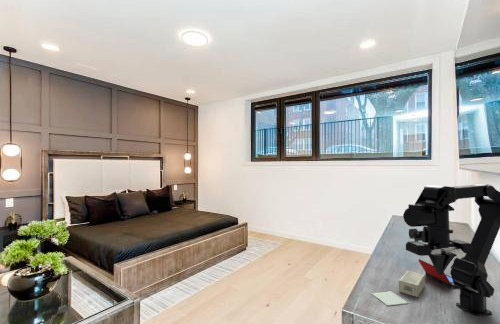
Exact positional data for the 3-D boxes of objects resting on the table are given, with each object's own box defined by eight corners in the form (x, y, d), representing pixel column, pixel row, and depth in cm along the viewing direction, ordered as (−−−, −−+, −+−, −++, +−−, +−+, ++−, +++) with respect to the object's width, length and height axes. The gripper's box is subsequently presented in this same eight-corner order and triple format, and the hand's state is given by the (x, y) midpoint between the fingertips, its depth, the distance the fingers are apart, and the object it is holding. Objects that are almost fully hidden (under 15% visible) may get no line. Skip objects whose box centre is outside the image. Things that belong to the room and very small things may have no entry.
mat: (390, 292, 92) (390, 291, 92) (408, 303, 84) (408, 302, 84) (371, 294, 90) (371, 293, 90) (387, 306, 82) (387, 305, 82)
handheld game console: (468, 288, 95) (468, 268, 95) (442, 289, 94) (442, 270, 94) (441, 274, 107) (440, 257, 107) (417, 275, 106) (417, 258, 107)
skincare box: (418, 297, 88) (425, 286, 96) (417, 284, 88) (425, 274, 96) (398, 291, 92) (407, 281, 101) (398, 279, 92) (406, 270, 101)
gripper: (441, 218, 88) (443, 263, 87) (393, 220, 85) (394, 266, 85) (473, 226, 76) (475, 276, 76) (418, 228, 74) (420, 280, 74)
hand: (439, 274), depth 78 cm, fingers closed
